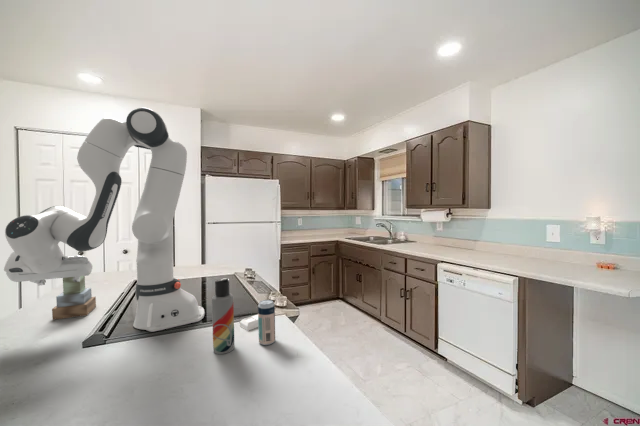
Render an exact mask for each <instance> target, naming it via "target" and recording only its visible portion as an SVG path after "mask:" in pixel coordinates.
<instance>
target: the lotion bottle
mask: <svg viewBox="0 0 640 426" xmlns="http://www.w3.org/2000/svg"><path fill="white" fill-rule="evenodd" d="M230 285H231V284H230V279H229V278H222V279H219V280H214V295H213V296H212V297H211V317H212V321H211V322H212V347H213V348H212V349H213V353H215V354H217V355H223V354H225V355H226V354H228V353H230V352H232V351H233V350H234V349H235V317H234V316H235V313H234V309H235V308H234V295H233V294H232V293H231V291H230V290H231V289H230Z"/></svg>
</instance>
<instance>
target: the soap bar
mask: <svg viewBox="0 0 640 426" xmlns="http://www.w3.org/2000/svg"><path fill="white" fill-rule="evenodd" d="M239 327H241V328H242V329H244V330H245V331H251V330H253V329H256V328H258V314H254V315H252V316H247V317H245V318H242V319H241V320H240V321H239Z"/></svg>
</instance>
